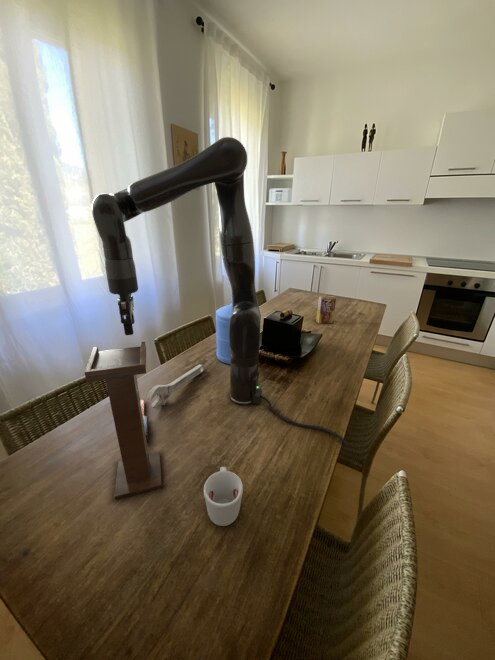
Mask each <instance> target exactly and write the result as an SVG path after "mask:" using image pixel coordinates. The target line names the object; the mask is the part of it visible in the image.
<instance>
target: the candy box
mask: <svg viewBox="0 0 495 660" xmlns="http://www.w3.org/2000/svg"><path fill="white" fill-rule="evenodd" d="M336 302H337V297H336V296H334V295H325V296H324V295H322V296H321V295H320V296H318V302H317V310H316V318H315V322H316V323H317V324H333V323H334V316H335V310H336V309H335V307H336Z"/></svg>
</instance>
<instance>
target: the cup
mask: <svg viewBox="0 0 495 660" xmlns="http://www.w3.org/2000/svg"><path fill="white" fill-rule="evenodd" d="M243 493H244V485H243V482H242V480H241V478H240V476H239V475H237V474H236V473H234V472H233V471H229V470H228V469H227V466H220V468H219V471H216V472H214V473H213V474H211V475H210V476H208V478H207V479H206V481H205V482H204V485H203V496H204V502H205V507H206V512H207V515H208V518H209V519H210V521H211V522H212V523H213V524H215V525H216V526H220V527H226V526H229V525H232V524H233V523H234V522H235V521H236V520H237V518H238V516H239V514H240V509H241V505H242V504H241V503H242V498H243Z"/></svg>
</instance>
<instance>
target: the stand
mask: <svg viewBox="0 0 495 660" xmlns="http://www.w3.org/2000/svg"><path fill="white" fill-rule="evenodd" d="M146 345H147V344H146V341H141V342H140V346H139V345H138V346H132V347H123V348H115V349H114V348H113V349H105V350H99V346H93V347H92V350H91V353H90V356H89V358H88V361H87V364H86V366H85V369H84V371H83V372H84V376H85V377H84V378H85V380H86V382H87V383H88V382H95V381H103V380H105V384H106V389H107V394H108V399H109V403H110V407H111V413H112V416H113V422H114V427H115V432H116V438H117V442H118V448H119V451H120V456H121V457H120V458H121V459H120V460H118V461H117V467H116V478H115V486H114V500H119V499H123V498H127V497H131V496H135V495H139V494H142V493H146V492H150V491H154V490H158V489H162V487H163V483H162V467H161V465H162V464H161V452H160V451H156V452H152V453H149V447H148V443H147V441H146V435H145V428H144V422H143V415H142V409H141V402H140V400H141V396H140V390H139V389H140V388H139V384H138V377H137V376H138V375H144V374H145V375H146V374H147V346H146Z"/></svg>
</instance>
